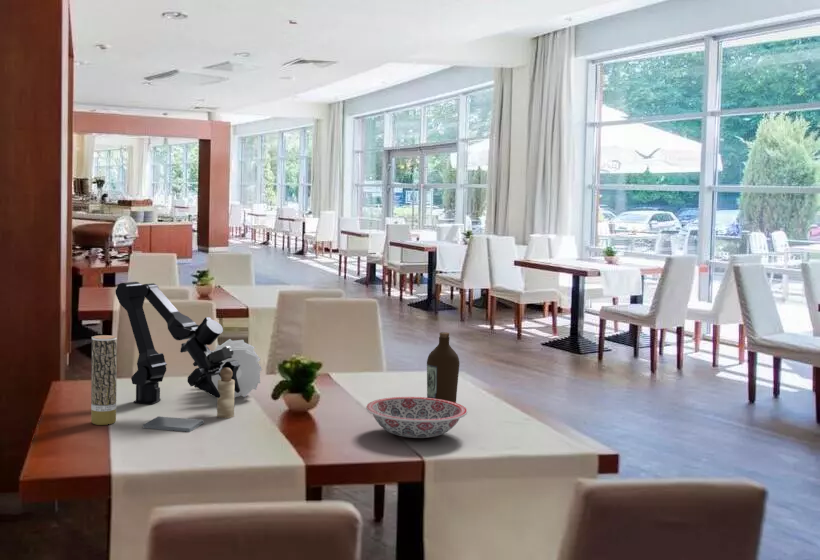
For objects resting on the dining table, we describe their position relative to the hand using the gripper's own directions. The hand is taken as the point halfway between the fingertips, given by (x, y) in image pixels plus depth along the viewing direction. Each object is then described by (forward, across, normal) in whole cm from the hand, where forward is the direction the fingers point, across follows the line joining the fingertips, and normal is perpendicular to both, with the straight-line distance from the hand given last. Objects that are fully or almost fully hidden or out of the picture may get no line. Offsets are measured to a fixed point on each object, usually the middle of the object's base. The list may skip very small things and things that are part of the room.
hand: (229, 394), depth 269 cm
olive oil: (+39, +49, -29) cm, 69 cm away
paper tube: (-12, -27, +22) cm, 37 cm away
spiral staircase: (-9, +28, +19) cm, 35 cm away
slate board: (0, -17, +9) cm, 20 cm away
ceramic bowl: (+45, +15, -34) cm, 58 cm away
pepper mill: (+4, 0, +6) cm, 7 cm away
